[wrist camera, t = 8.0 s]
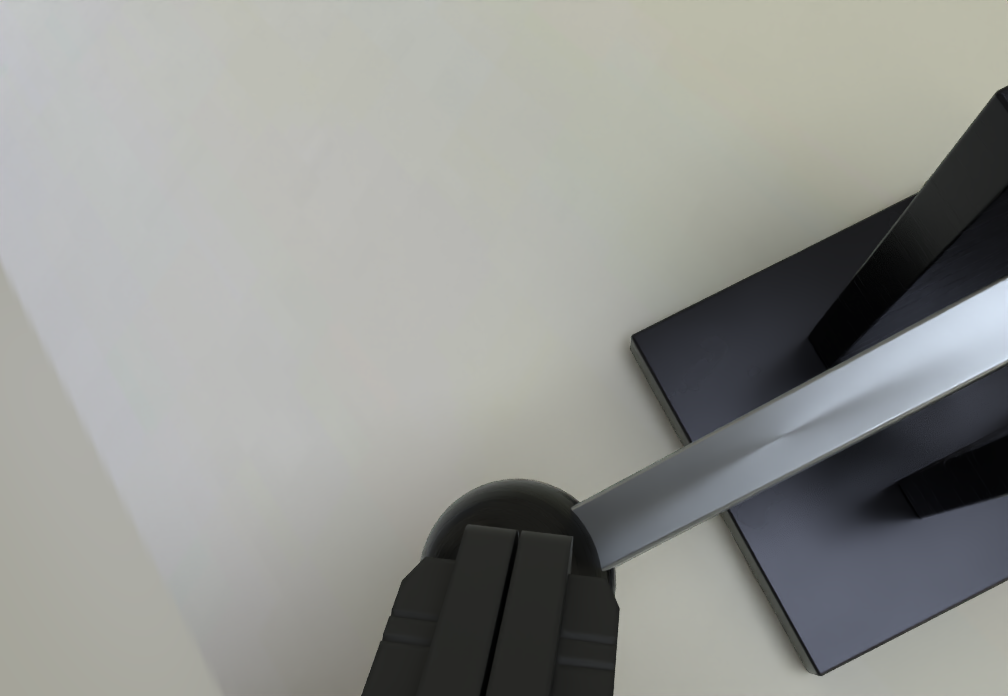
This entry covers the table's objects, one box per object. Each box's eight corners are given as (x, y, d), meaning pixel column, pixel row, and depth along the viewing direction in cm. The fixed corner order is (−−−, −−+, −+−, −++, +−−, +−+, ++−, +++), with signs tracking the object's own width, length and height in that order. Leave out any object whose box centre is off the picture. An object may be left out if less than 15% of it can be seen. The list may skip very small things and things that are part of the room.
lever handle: (506, 694, 17) (440, 737, 14) (431, 530, 18) (354, 536, 15) (1305, 296, 14) (1438, 242, 11) (1170, 125, 15) (1260, 32, 12)
